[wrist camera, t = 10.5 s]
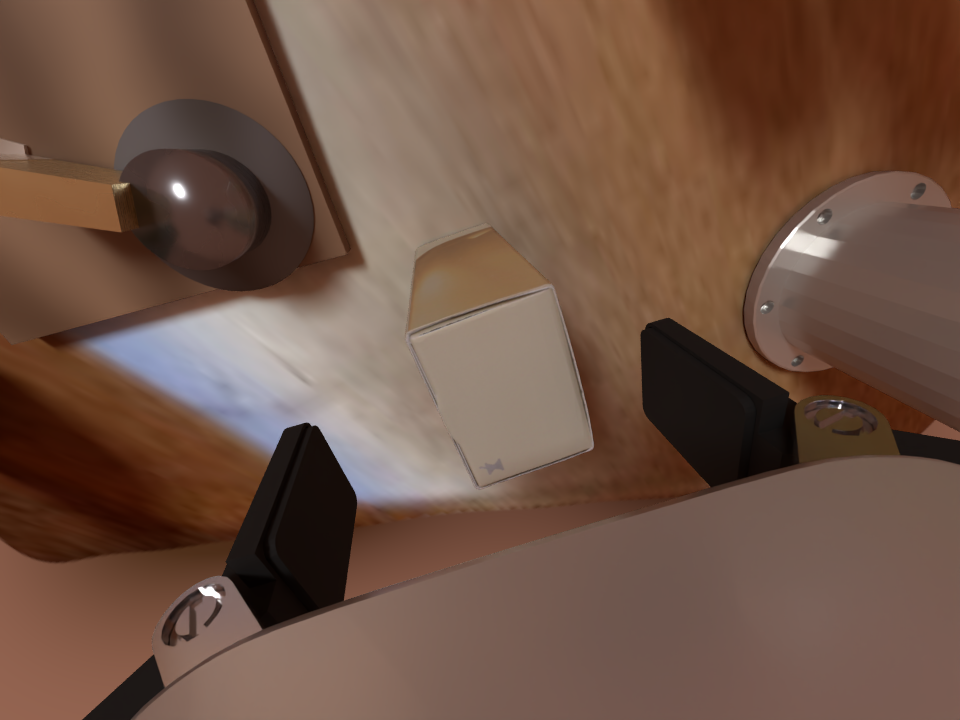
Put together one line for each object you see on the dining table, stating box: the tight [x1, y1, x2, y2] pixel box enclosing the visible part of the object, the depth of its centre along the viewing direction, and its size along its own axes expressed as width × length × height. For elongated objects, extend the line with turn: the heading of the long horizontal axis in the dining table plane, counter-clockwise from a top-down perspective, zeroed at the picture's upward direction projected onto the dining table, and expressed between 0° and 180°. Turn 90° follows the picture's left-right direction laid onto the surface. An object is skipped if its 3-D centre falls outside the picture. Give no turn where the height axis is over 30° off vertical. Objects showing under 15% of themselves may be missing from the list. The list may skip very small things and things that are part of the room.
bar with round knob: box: [0, 149, 271, 270], centre depth 15 cm, size 9×4×4 cm, turn 80°
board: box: [0, 0, 350, 345], centre depth 15 cm, size 17×20×1 cm
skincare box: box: [405, 223, 594, 490], centre depth 17 cm, size 6×4×12 cm
